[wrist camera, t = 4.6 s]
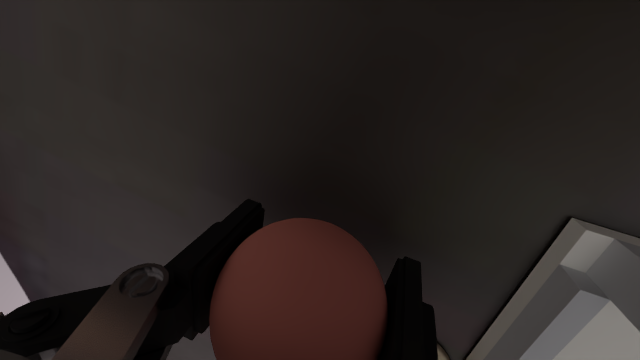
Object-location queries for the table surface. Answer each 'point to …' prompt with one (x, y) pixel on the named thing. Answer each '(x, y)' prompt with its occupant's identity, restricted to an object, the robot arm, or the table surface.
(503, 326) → the grey u-shaped holder
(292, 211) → the table surface
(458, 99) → the table surface
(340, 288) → the bead
